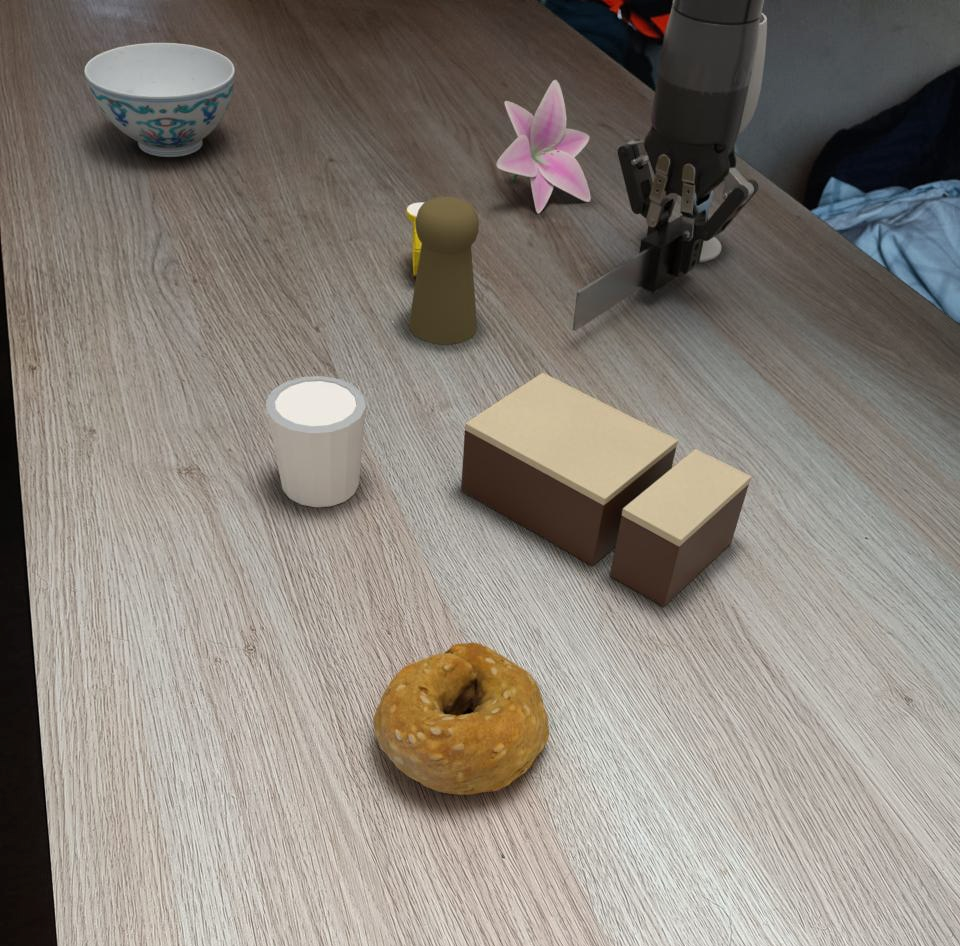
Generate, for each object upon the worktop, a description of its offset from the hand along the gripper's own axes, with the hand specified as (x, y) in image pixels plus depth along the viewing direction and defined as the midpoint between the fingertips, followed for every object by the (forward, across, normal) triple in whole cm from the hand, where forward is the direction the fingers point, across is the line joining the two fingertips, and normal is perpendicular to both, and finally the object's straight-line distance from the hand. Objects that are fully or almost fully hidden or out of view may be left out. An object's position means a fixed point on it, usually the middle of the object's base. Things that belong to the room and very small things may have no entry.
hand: (667, 268), depth 103 cm
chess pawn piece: (+2, +10, +20) cm, 23 cm away
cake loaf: (+2, -12, +32) cm, 34 cm away
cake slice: (+2, -21, +32) cm, 39 cm away
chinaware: (+2, +55, +13) cm, 57 cm away
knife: (+1, 0, +5) cm, 5 cm away
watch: (+2, +18, +14) cm, 23 cm away
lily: (+2, +20, -7) cm, 22 cm away
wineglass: (+2, +3, -9) cm, 10 cm away
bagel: (+2, -21, +54) cm, 58 cm away
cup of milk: (+2, +2, +43) cm, 43 cm away
